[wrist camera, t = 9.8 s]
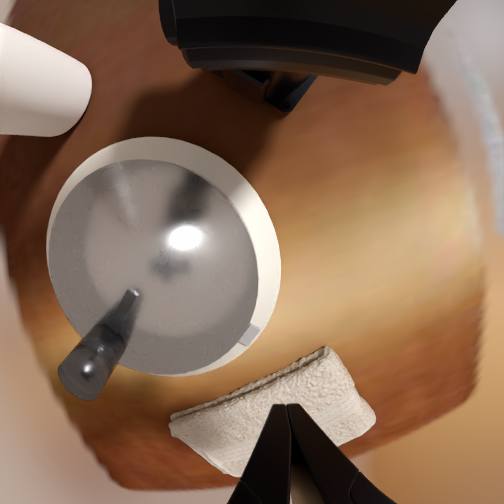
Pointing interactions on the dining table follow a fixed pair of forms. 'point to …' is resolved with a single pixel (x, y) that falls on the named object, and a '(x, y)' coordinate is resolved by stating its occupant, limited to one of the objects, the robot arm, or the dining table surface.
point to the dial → (150, 272)
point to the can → (39, 86)
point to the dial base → (231, 187)
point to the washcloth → (260, 402)
